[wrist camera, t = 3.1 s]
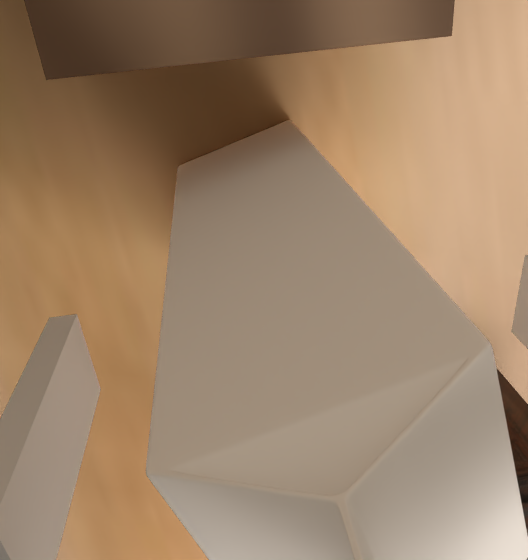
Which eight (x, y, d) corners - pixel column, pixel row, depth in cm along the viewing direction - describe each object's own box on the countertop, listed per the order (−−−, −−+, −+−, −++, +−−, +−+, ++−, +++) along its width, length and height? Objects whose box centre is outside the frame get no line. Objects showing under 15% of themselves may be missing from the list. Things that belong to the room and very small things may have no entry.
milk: (289, 117, 24) (676, 512, 5) (327, 225, 27) (664, 744, 8) (174, 166, 25) (112, 712, 5) (222, 268, 28) (297, 863, 8)
